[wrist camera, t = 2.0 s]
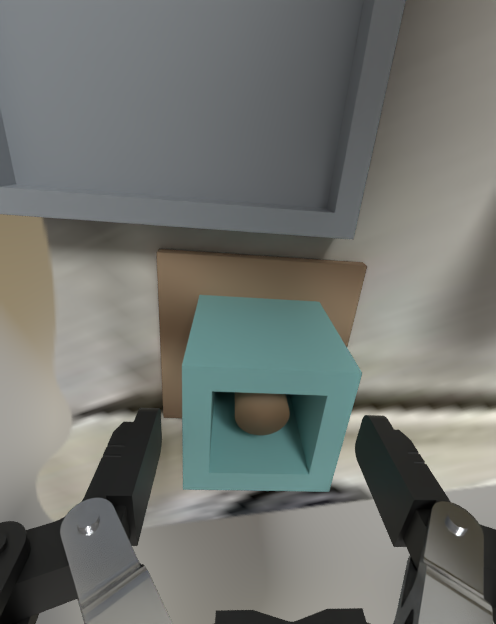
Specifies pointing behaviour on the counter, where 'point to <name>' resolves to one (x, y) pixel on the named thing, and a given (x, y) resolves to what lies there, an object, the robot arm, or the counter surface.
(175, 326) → the square board with knob
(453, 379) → the counter surface
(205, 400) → the open box
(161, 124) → the tray
